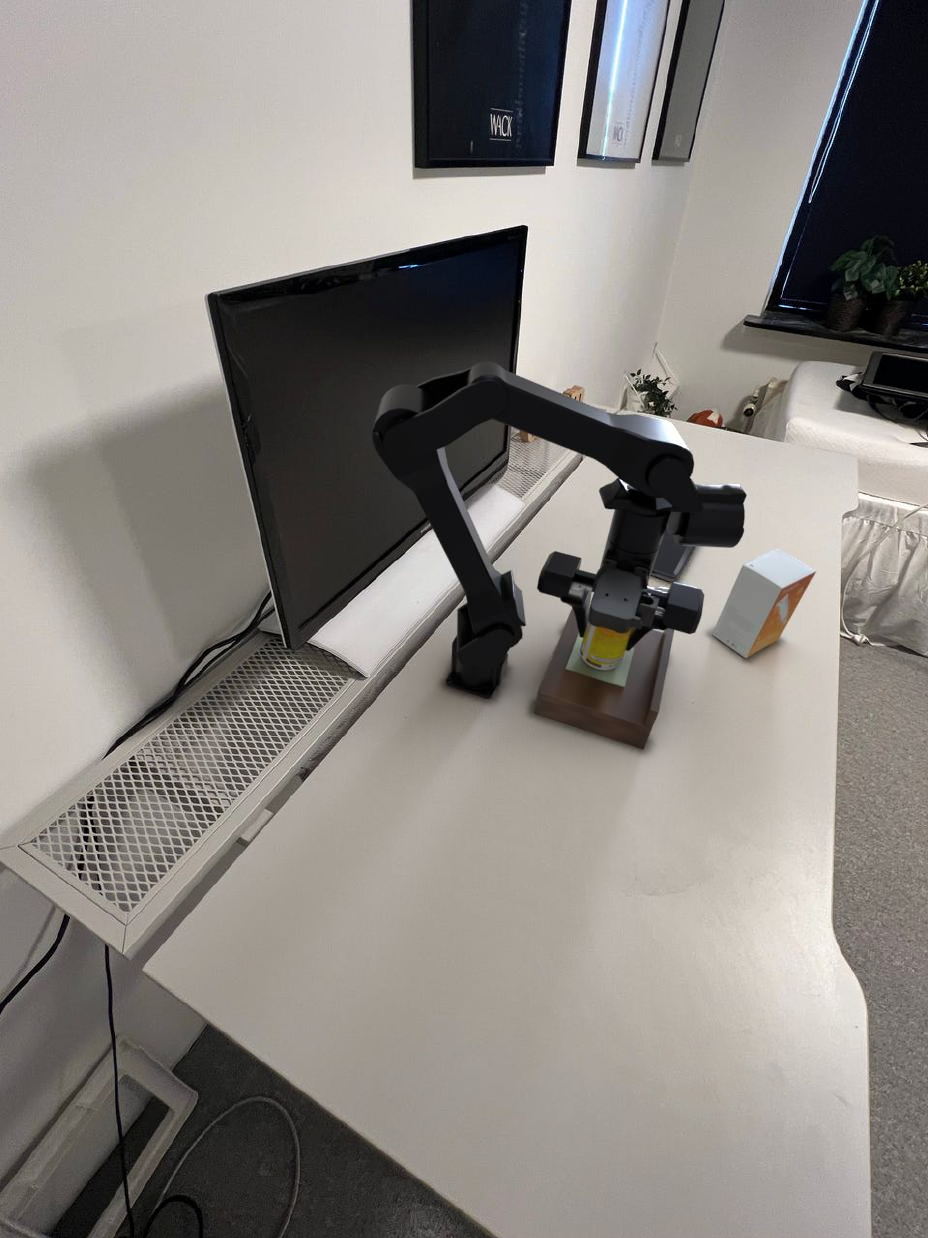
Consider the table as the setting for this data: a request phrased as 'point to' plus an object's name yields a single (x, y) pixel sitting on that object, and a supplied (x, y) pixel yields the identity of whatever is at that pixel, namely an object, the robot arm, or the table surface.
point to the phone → (671, 558)
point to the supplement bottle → (603, 647)
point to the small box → (762, 601)
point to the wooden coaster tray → (606, 687)
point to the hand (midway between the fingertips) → (604, 642)
